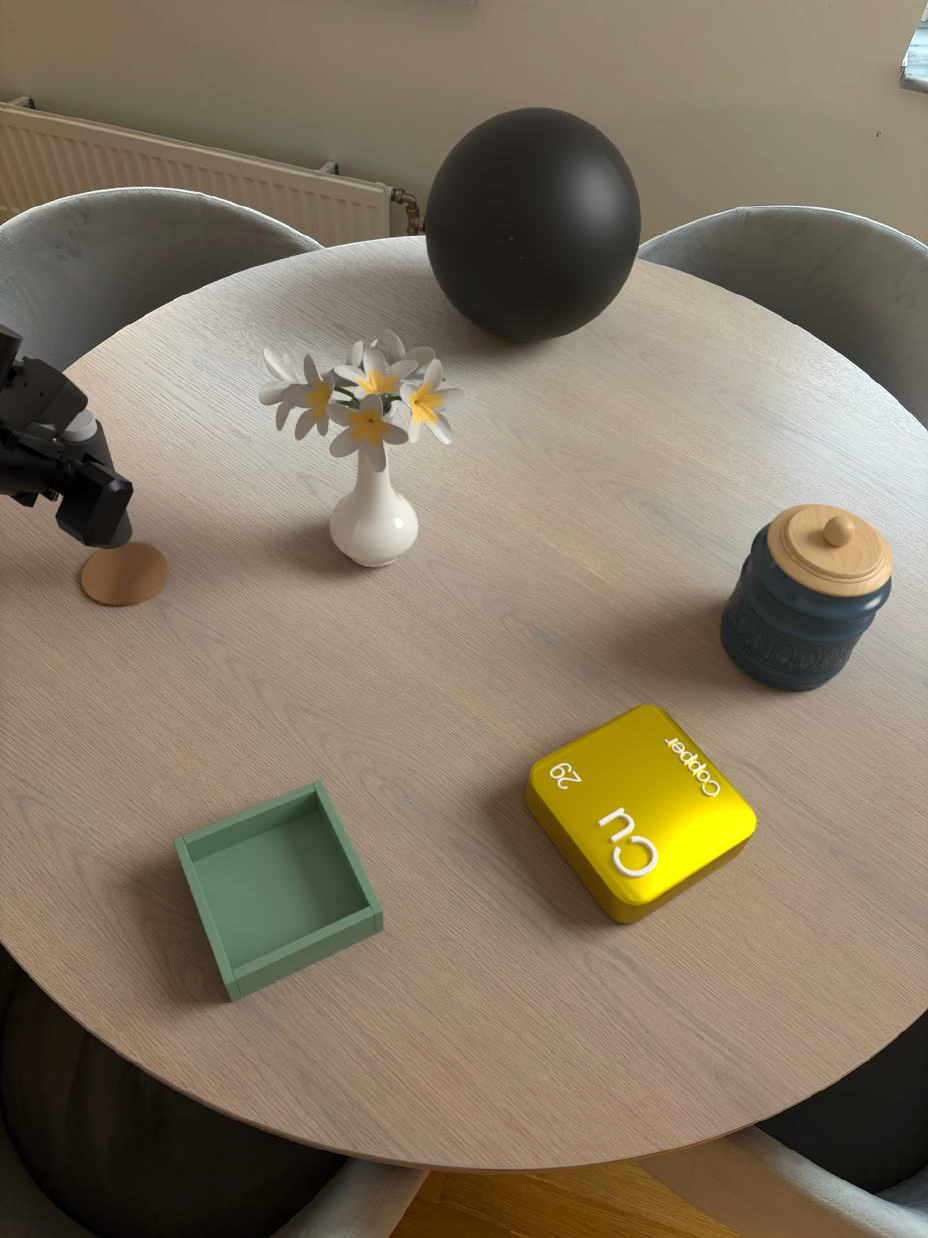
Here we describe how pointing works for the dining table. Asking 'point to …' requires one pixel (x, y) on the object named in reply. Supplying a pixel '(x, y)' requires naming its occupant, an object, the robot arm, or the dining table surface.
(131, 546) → the coaster
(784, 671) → the canister
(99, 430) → the salt mill
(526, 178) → the ball
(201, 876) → the box
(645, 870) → the element tile
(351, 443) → the flower vase
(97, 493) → the robot arm
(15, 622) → the dining table surface
